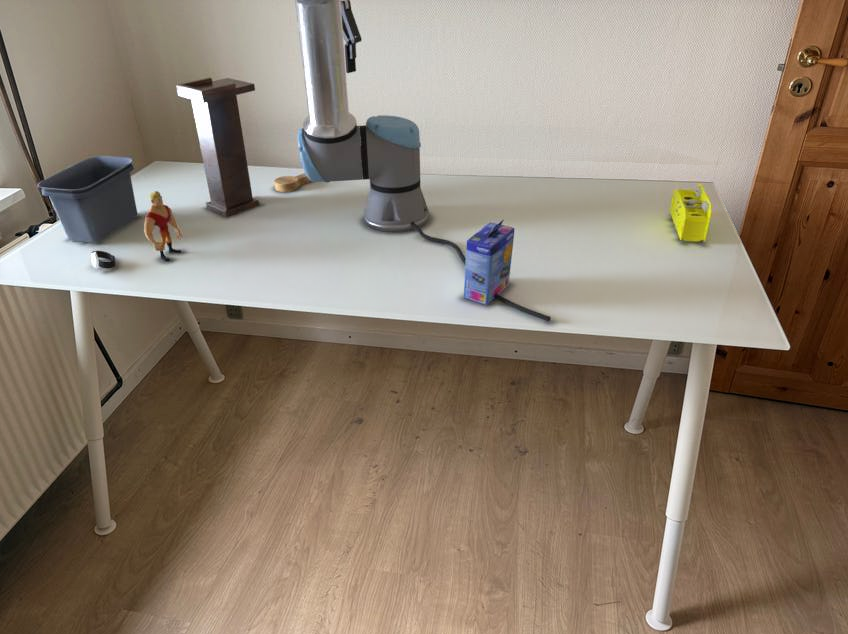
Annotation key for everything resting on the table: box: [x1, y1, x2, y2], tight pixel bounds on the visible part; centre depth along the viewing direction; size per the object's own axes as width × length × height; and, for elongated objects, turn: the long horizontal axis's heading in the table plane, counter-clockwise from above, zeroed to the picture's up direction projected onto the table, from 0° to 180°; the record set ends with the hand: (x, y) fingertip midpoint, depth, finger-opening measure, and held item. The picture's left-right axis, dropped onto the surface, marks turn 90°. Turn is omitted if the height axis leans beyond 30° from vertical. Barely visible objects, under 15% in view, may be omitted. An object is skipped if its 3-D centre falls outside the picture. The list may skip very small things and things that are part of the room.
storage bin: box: [37, 155, 139, 244], centre depth 161 cm, size 21×16×14 cm
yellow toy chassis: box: [669, 182, 713, 243], centre depth 148 cm, size 16×6×8 cm, turn 168°
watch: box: [90, 250, 116, 270], centre depth 147 cm, size 8×5×4 cm, turn 40°
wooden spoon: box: [273, 172, 312, 193], centre depth 187 cm, size 22×6×2 cm, turn 134°
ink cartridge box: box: [463, 219, 516, 306], centre depth 127 cm, size 10×6×14 cm, turn 146°
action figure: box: [143, 190, 184, 262], centre depth 146 cm, size 10×4×15 cm, turn 158°
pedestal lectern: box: [175, 76, 260, 218], centre depth 165 cm, size 14×11×30 cm
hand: (333, 69), depth 179 cm, fingers open, 13 cm apart
